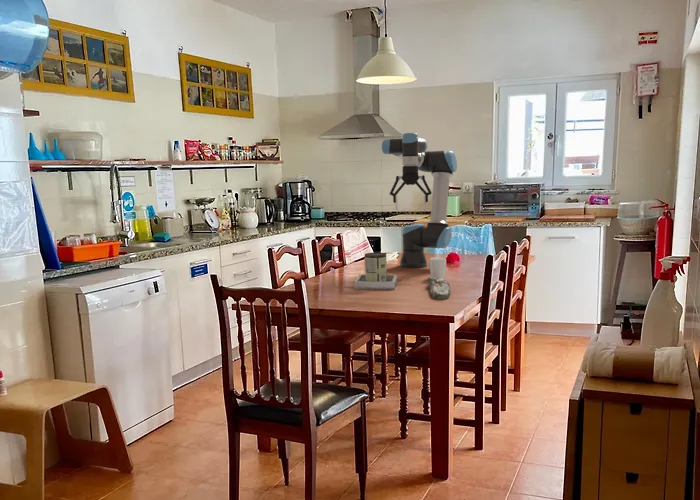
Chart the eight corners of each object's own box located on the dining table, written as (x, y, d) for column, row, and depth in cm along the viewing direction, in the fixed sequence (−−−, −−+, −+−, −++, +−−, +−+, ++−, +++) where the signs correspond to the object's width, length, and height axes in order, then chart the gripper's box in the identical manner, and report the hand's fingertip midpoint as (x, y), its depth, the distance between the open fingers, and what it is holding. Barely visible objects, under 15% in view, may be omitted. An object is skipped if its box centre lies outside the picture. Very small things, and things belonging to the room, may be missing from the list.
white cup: (445, 280, 293) (445, 259, 291) (429, 279, 294) (429, 259, 293) (446, 277, 300) (446, 257, 299) (430, 276, 302) (430, 257, 301)
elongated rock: (428, 303, 252) (452, 304, 251) (429, 291, 251) (453, 292, 250) (426, 282, 286) (447, 283, 285) (427, 271, 285) (448, 272, 284)
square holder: (359, 281, 294) (359, 274, 293) (396, 281, 291) (396, 274, 291) (354, 289, 276) (354, 281, 275) (394, 289, 273) (394, 282, 273)
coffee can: (369, 280, 291) (369, 251, 289) (389, 281, 287) (389, 252, 285) (361, 284, 281) (361, 255, 279) (382, 285, 277) (382, 255, 275)
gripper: (383, 166, 286) (384, 210, 289) (436, 164, 283) (436, 209, 286) (385, 166, 294) (385, 209, 297) (436, 164, 290) (436, 208, 293)
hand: (410, 209), depth 291 cm, fingers open, 13 cm apart
